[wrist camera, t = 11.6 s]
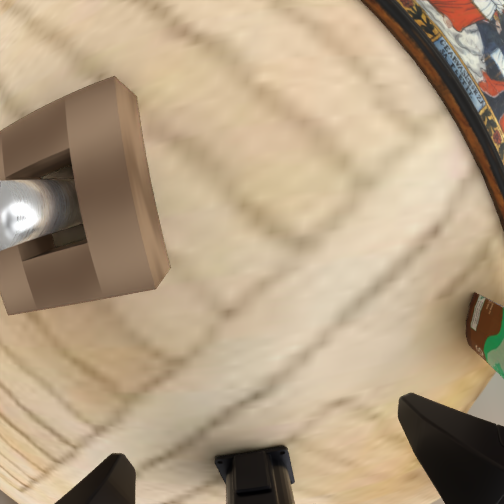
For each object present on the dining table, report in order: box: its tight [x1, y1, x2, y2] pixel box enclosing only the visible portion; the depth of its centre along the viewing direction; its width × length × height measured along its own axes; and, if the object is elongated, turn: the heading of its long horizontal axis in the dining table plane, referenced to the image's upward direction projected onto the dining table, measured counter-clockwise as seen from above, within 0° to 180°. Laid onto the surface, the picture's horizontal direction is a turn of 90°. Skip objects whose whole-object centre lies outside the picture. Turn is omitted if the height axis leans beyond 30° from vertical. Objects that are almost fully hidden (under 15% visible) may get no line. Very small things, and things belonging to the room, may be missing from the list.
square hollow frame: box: [0, 76, 171, 315], centre depth 15 cm, size 11×11×4 cm
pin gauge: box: [0, 179, 83, 251], centre depth 13 cm, size 3×3×8 cm
